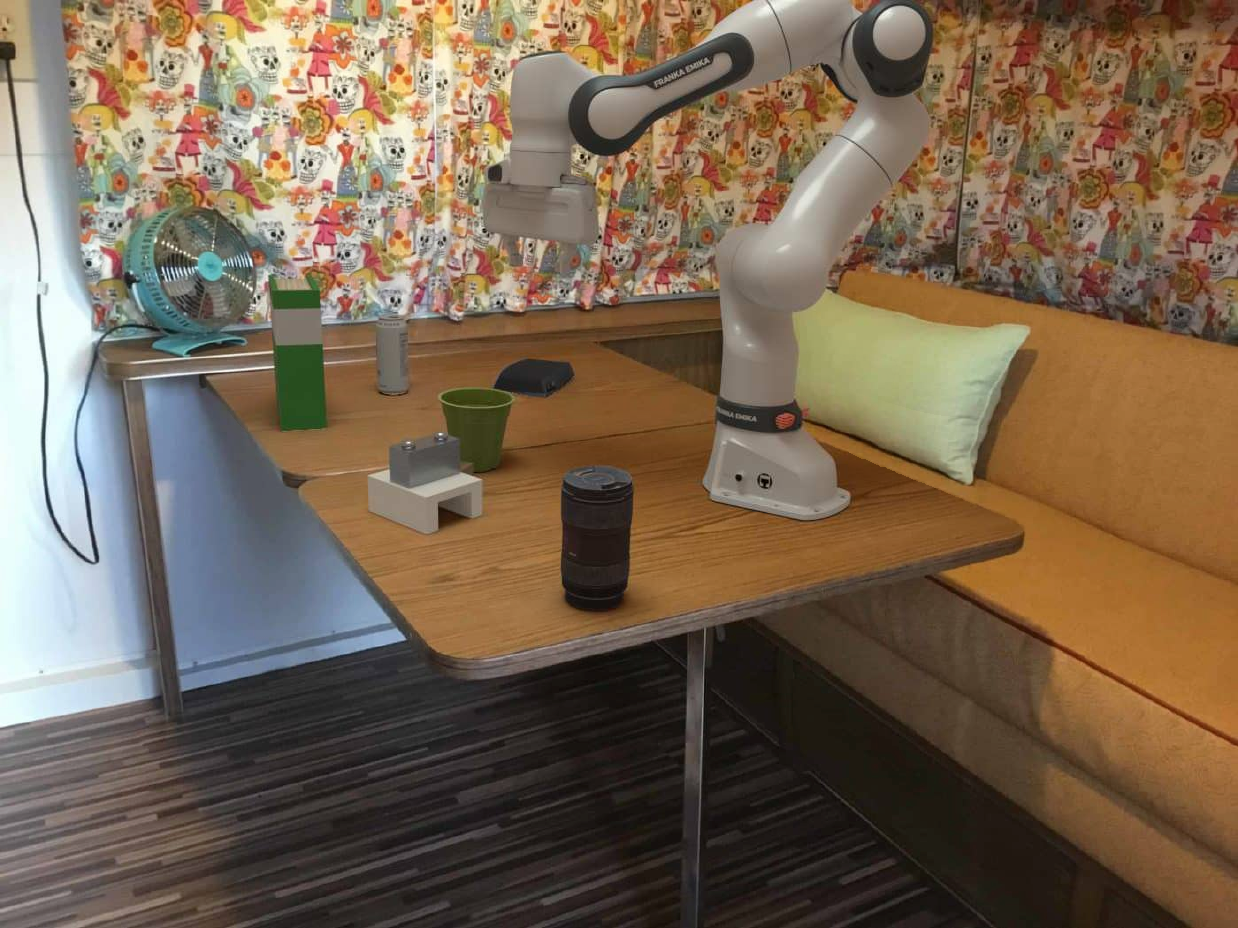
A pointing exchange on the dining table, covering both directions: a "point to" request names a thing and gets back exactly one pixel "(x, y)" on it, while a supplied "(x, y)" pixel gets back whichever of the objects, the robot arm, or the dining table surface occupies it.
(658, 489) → the dining table surface
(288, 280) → the hardback book
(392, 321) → the energy drink can
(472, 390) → the plant pot
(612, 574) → the camera lens
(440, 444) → the block
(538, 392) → the external hard drive
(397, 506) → the stand
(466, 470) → the walnut block
